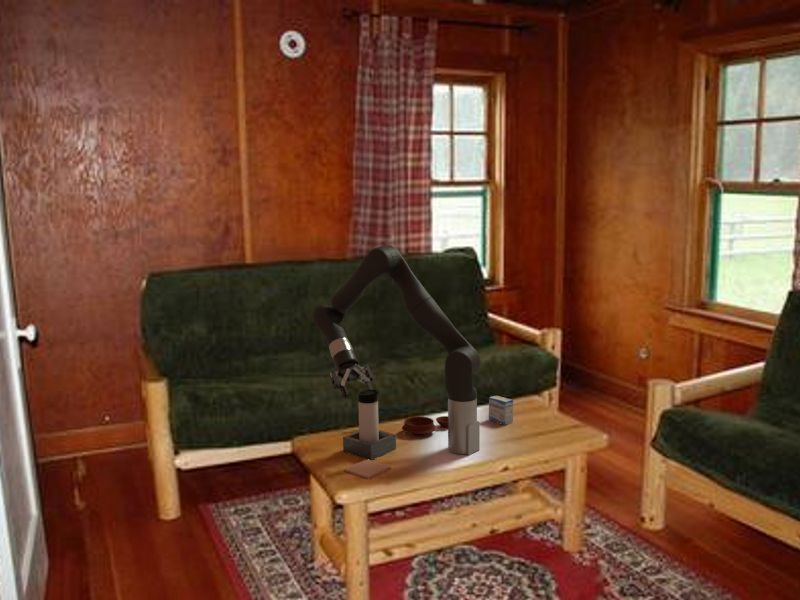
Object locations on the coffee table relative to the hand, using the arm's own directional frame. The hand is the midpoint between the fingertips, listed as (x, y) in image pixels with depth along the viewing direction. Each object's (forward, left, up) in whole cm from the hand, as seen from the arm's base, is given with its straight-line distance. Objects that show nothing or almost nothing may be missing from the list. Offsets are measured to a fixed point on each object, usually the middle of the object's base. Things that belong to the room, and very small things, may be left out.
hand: (359, 395), depth 235 cm
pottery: (-10, -24, -17) cm, 31 cm away
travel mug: (-6, +2, -17) cm, 18 cm away
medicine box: (-24, -48, -17) cm, 56 cm away
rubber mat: (-16, +14, -17) cm, 27 cm away
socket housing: (-6, +2, -17) cm, 18 cm away
